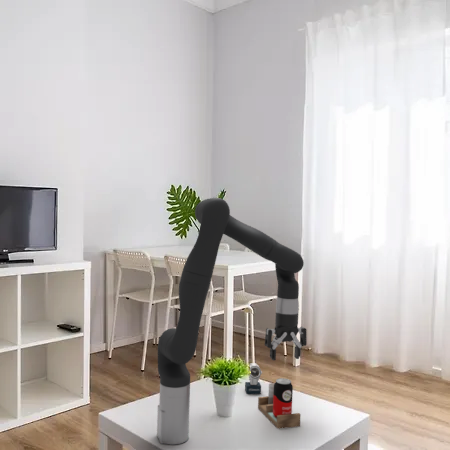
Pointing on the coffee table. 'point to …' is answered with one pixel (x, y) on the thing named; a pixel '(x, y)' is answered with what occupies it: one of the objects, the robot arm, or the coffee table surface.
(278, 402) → the beverage can
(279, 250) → the robot arm
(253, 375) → the watch
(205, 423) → the coffee table surface
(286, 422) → the wooden divided tray
